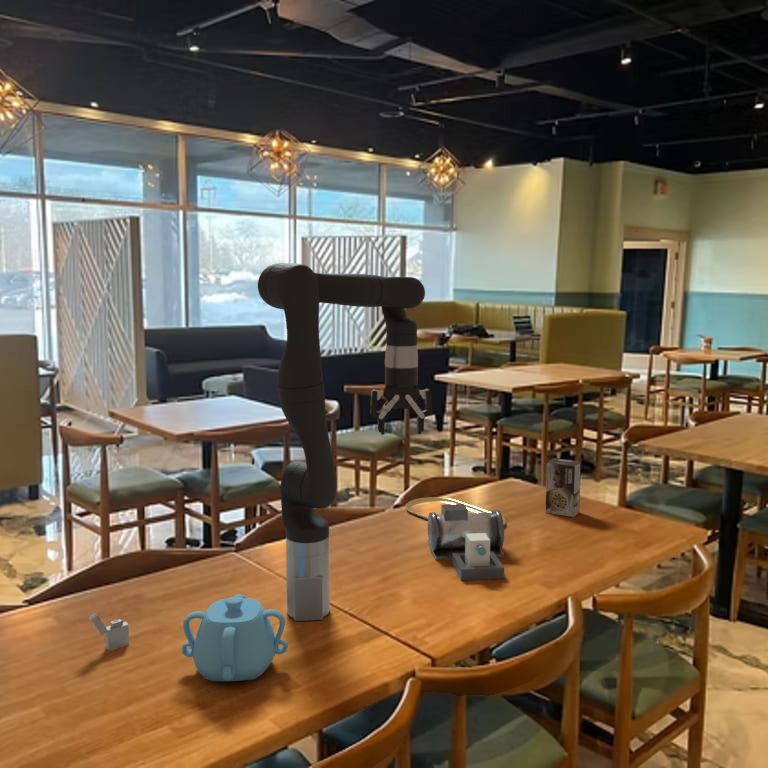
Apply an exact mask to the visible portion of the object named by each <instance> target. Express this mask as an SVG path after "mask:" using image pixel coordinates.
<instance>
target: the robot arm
mask: <svg viewBox="0 0 768 768" xmlns="http://www.w3.org/2000/svg"><path fill="white" fill-rule="evenodd" d="M257 291H258V295H259V296H260V298H261V300H262V301H264V303H265V304H266V305H269V306H270V307H272V308H274V309H278V310H282V311H283V312H284V317H285V325H286V343H285V348H284V351H283V354H282V356H281V360H280V363H279V365H278V366H279V367H278V370H277V386H278V387H277V388H278V395H279V397H278V398H279V404H280V408H281V411H282V413H283V415H284V418H285V419H286V421H287V423H288V424H289V426H290V427H291V429H292V431H293V432H294V433H295V436H297V439H298V441H299V442H300V445H301V447H302V450H303V453H304V458H305V461H303V460H293V461H291V462H290V463H288V464H287V465H286V466H285V468H284V470H283V471H282V474H281V478H280V489H279V492H280V506H281V507H280V508H281V517H282V518H281V519H282V526H283V527H284V529H285V548H286V550H285V552H286V553H285V555H286V556H285V557H286V560H285V561H286V565H285V567H286V606H287V608H286V610H287V615H288V616H289V617H290V618H292V619H293V621H294V622H301V621H302V622H303V621H322V620H324V617H326V616H327V615H328V614H329V613H330V611H331V610H330V608H331V607H330V604H331V603H330V598H331V597H330V526H329V522H328V521H327V520H326V518H324V517H323V516H321V515H320V514H319V513H318V512H317V511H316V510H315V509H318V510H324V509H327V508H329V507H330V506H331V505H332V504H333V502H334V500H335V498H336V494H337V488H338V483H337V481H338V480H337V473H336V467H335V462H334V458H333V452H332V448H331V442H330V441H331V440H330V436H329V435H330V434H329V430H328V428H329V427H328V419H327V410H326V395H325V394H326V393H325V385H324V383H325V382H324V377H323V370H322V369H323V368H322V356H321V346H320V345H321V343H320V304H332V305H339V306H347V307H358V308H359V307H361V308H377V307H381V310H382V315H383V319H384V323H385V326H386V332H385V333H386V339H385V340H386V342H385V343H386V346H385V347H386V348H385V355H384V356H385V357H384V367H385V368H384V388H383V390H377V389H375V388H373V389H371V392H370V406H369V407H370V408H369V413H370V416H372V417H374V418H376V419H377V431H378V433H380V435H382V436H384V435H385V428H386V427H385V423H386V422H385V421H386V420H385V417H386V415H387V414H388V413H389V412H390V411H391V409H392V408H393V409H395V410H399V409H404V410H405V409H406V410H407V409H408V410H409V409H410V408H412V409H413V410H414V412H415V413H416V414H417V417H416V434H417V435H421V434H422V432H423V433H424V430H425V418H426V417H428V416H432V415H433V399H432V398H433V397H432V391H431V390H430V389H429V388H425V389H419V388H418V386H419V384H418V377H419V375H418V372H419V370H418V369H419V353H418V324H417V322H416V321H415V320H414V319H412V318H410V317H408V316H407V313H406V310H405V309H414V308H416V307H418V306H420V305H421V304H422V303H423V301H424V300H425V297H426V296H425V295H426V290H425V286H424V284H423V283H422V281H421V280H419V279H418V278H416V277H413V276H382V275H377V274H366V273H324V272H323V273H322V272H314V271H313V269H311V267H310V266H308V265H306V264H303V263H295V262H293V263H291V262H290V263H289V262H276V263H274V264H271V265H269V266H267V267H265V268H264V269H263V270H262V272H261V273H260V275H259V277H258V280H257ZM382 396H383V398H384V399H385V400H386V401H385V403H384V404H383V405H382V407H381V409H380V410H379V411H378V410H377V408H378V407H377V406H378V401H379V400H380V399H381V398H382ZM420 396H421V398H422V399H423V400H424V410H422V409H421V408H420V407H419V406H418V404H417V402H416V401H417V399H418V398H419V397H420Z"/></svg>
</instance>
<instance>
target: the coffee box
mask: <svg viewBox="0 0 768 768" xmlns="http://www.w3.org/2000/svg"><path fill="white" fill-rule="evenodd" d="M581 472H582V461H579V460H572V459H566V458H565V459H564V458H563V459H562V458H555V457H554V458H551V459H550V460H549V461H547V462H546V475H545V476H546V477H545V478H546V481H545V482H546V485H545V486H546V488H545V513H547V514H553V515H559V516H565V517H569V518H570V517H571V518H574V517H576V515H578V514H579V513H580V508H581V507H580V501H581V500H580V499H581Z"/></svg>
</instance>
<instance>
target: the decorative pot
mask: <svg viewBox="0 0 768 768" xmlns="http://www.w3.org/2000/svg"><path fill="white" fill-rule="evenodd" d="M270 617H274V618H277V619H278V622H279V624H278V625H279V626H278V629H277V631H276V634H275V632H274V627H273V625H272V622H271V620H270ZM194 619H200V620H201V621H200V624H199V626H198V629H197V631H196V635H195V637H194V635H193V632H192V629H191V627H190V626H191V625H190V621H192V620H194ZM182 625H183V626H182V627H183V632H184V634H185V637H186V639H187V641H186V642H184V644H183V645H182V646H181V652H182V654H183V655H184V656H186V657H187V658H192V659H193V663H194V666H195V668H196V670H197V671H198V672H199V674H200V675H201V676H202V677H204V678H205V679H206V680H209V681H211V682H240V681H254V680H256V679H258V678H259V676H261V675H263V673H265V671H266V670H267V668H268V667H270V665H271V663H272V661H273V659H274V657H275V655H283V654H284V653H286V652H287V650H288V648H289V645H288V642H287V640H285V639H281V638H282V635H283V634H284V630H285V627H286V619H285V616H284V615H283V613H282V612H280V611H279V610H276V609H265V608H264V606H263V605H262V603H261V602H260V601H259V600H257V599H256V598H251V597H246V595H244V594H241V593H238V594H235V595H234V596H231V597H227V598H223V599H222V598H221V599H218V600H216V601H214V602H212V604H211V605H209V607H208V608H207V610H206V611H205V612H204V611H201V610H199V611H197V610H196V611H193V612H191V613H189V614H188V615H187V616H186V617H185V619H184V620H183V624H182ZM279 645H282V646H281V647H279ZM188 647H190V649H188Z"/></svg>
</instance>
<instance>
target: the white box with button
mask: <svg viewBox="0 0 768 768" xmlns="http://www.w3.org/2000/svg"><path fill="white" fill-rule="evenodd" d="M465 565H466V567H473V566H490V539H489V538H488V536H487V535H486V533H472V534H466V538H465Z"/></svg>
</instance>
